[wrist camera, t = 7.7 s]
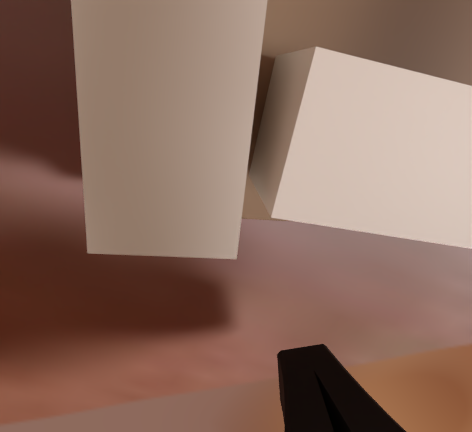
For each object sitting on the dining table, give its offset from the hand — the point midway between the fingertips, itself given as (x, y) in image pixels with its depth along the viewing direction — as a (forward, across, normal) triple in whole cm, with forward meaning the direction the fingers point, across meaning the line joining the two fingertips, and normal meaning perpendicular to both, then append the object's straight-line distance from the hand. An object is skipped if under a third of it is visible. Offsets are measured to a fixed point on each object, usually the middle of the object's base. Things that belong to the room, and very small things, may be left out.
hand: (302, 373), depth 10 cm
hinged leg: (0, -4, -6) cm, 7 cm away
